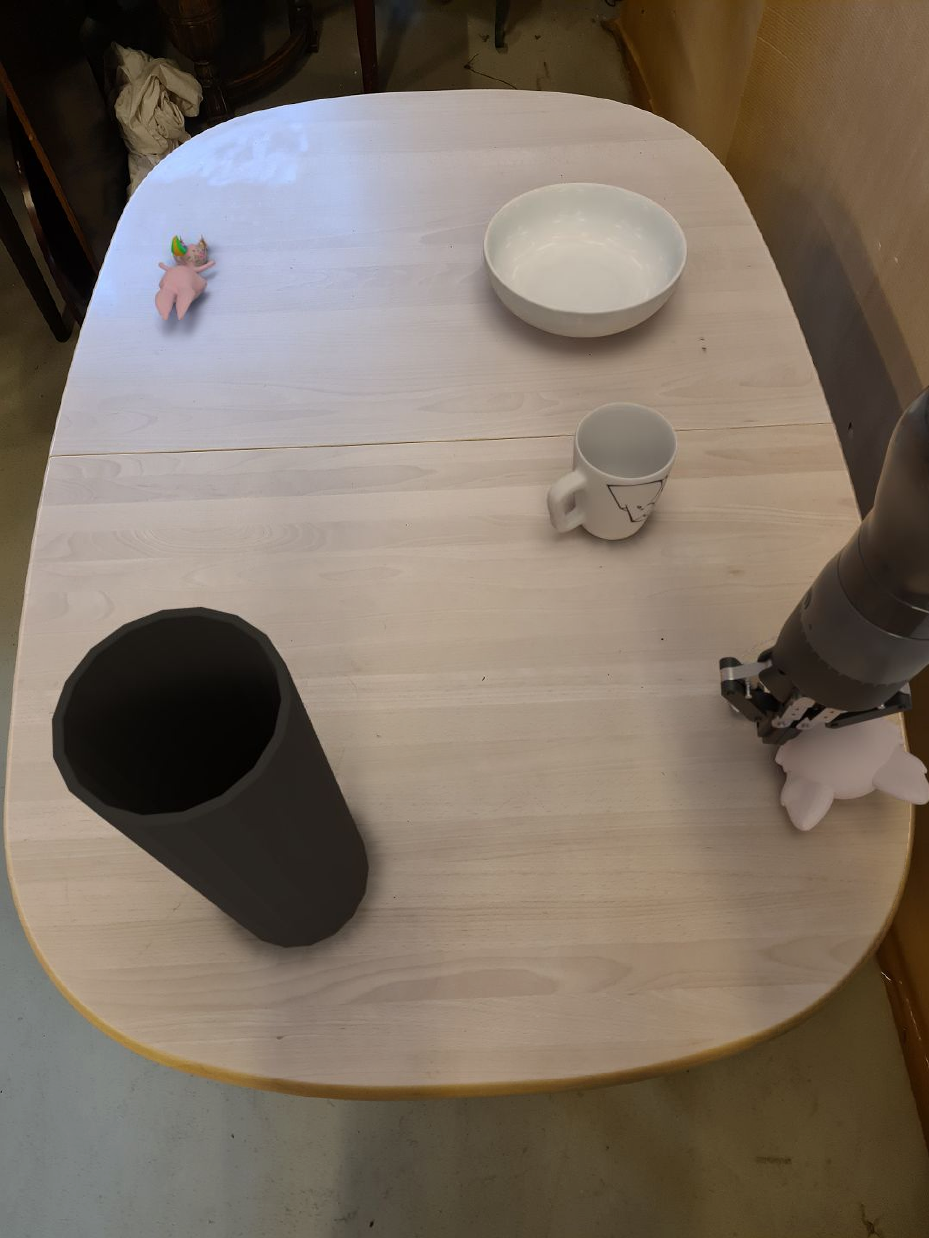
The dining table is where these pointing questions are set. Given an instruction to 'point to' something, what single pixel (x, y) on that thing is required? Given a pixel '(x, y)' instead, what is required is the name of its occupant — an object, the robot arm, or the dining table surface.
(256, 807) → the vase
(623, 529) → the mug
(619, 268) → the serving bowl
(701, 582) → the dining table surface
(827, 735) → the toy
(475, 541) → the dining table surface
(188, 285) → the pink soft figure
